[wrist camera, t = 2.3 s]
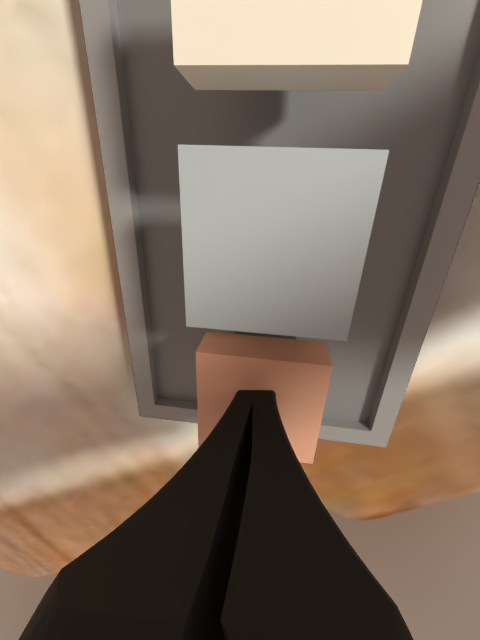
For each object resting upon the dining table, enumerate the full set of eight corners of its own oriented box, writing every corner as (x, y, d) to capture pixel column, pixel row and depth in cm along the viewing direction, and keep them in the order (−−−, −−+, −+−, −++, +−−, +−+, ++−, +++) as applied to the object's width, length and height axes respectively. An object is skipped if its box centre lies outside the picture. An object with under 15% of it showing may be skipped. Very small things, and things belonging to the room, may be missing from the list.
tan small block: (318, 318, 13) (333, 366, 9) (304, 399, 15) (312, 463, 11) (217, 310, 13) (195, 352, 10) (217, 389, 15) (198, 448, 12)
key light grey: (349, 164, 9) (389, 150, 6) (326, 295, 11) (346, 341, 8) (213, 160, 10) (177, 144, 6) (213, 286, 12) (186, 326, 8)
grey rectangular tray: (573, -191, 8) (641, -280, 6) (376, 425, 17) (386, 447, 15) (85, -149, 9) (47, -214, 8) (150, 398, 18) (139, 415, 17)
